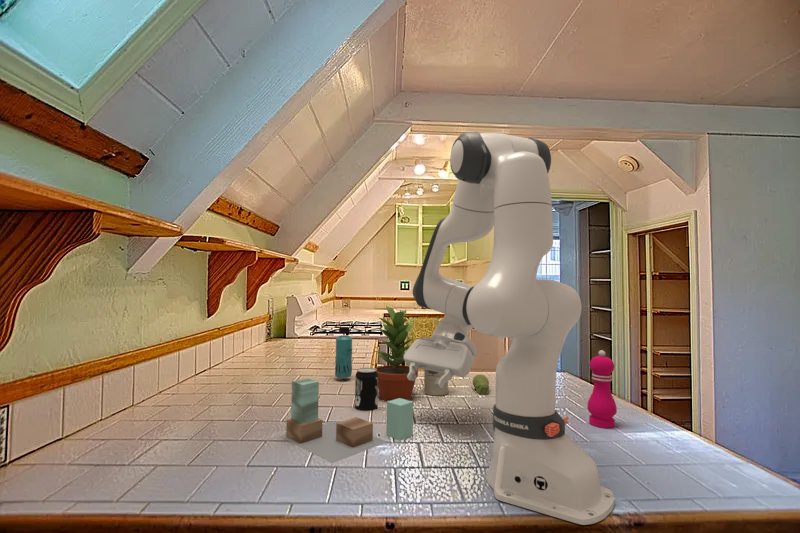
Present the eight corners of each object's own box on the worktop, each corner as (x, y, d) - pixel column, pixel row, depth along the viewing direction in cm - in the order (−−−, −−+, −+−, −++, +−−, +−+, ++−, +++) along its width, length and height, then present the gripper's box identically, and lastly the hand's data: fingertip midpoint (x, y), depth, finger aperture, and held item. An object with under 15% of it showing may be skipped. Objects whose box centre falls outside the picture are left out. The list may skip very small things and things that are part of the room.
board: (387, 446, 99) (387, 441, 99) (332, 467, 87) (332, 462, 87) (334, 424, 113) (334, 420, 113) (280, 440, 101) (280, 436, 101)
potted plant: (412, 405, 130) (413, 307, 131) (366, 400, 135) (367, 305, 136) (425, 393, 144) (426, 304, 145) (383, 389, 149) (384, 303, 150)
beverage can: (374, 415, 121) (374, 372, 121) (351, 413, 122) (352, 371, 123) (379, 408, 127) (380, 367, 128) (358, 406, 129) (359, 366, 129)
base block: (372, 440, 99) (372, 423, 100) (352, 447, 95) (353, 429, 95) (355, 433, 104) (356, 417, 104) (336, 440, 99) (336, 422, 99)
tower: (322, 436, 101) (323, 381, 102) (300, 443, 97) (301, 385, 97) (307, 430, 105) (308, 377, 106) (286, 436, 101) (287, 381, 101)
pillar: (412, 439, 103) (413, 401, 103) (399, 444, 100) (400, 405, 100) (399, 434, 106) (399, 398, 107) (386, 439, 103) (386, 401, 103)
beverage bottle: (332, 381, 159) (333, 327, 160) (337, 377, 166) (338, 325, 166) (349, 382, 158) (350, 328, 159) (354, 378, 165) (354, 326, 165)
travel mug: (432, 388, 151) (432, 337, 151) (452, 392, 146) (452, 339, 147) (419, 393, 144) (420, 340, 145) (440, 397, 140) (440, 342, 140)
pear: (487, 372, 153) (492, 384, 143) (486, 386, 154) (492, 398, 144) (471, 372, 153) (476, 383, 143) (470, 386, 154) (475, 398, 144)
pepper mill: (620, 424, 116) (620, 350, 117) (611, 431, 111) (611, 353, 111) (592, 418, 121) (592, 347, 121) (583, 424, 116) (583, 350, 116)
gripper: (413, 329, 123) (389, 368, 115) (473, 337, 109) (449, 382, 101) (423, 343, 126) (400, 382, 119) (483, 352, 112) (460, 397, 104)
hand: (423, 382), depth 110 cm, fingers open, 8 cm apart
